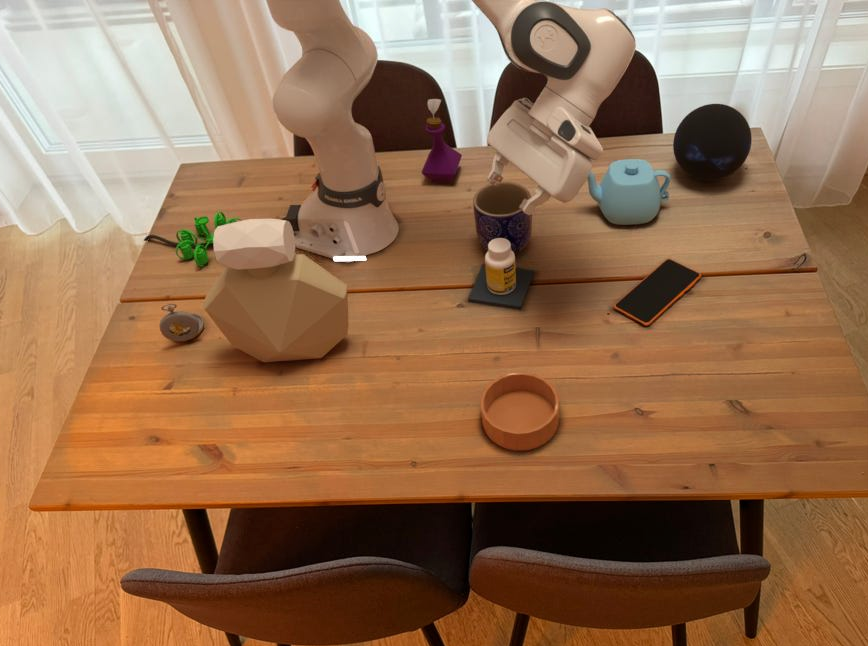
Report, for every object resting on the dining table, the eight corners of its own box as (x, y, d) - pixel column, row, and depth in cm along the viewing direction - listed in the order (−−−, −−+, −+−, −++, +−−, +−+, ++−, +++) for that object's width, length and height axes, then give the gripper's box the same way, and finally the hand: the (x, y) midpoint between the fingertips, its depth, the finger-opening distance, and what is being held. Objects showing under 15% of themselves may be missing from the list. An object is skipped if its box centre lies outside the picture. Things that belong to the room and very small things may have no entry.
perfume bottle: (456, 187, 161) (447, 111, 148) (423, 185, 163) (411, 110, 149) (463, 167, 166) (455, 92, 153) (431, 165, 168) (420, 91, 154)
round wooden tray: (473, 442, 116) (471, 425, 113) (494, 384, 123) (492, 366, 120) (549, 457, 113) (549, 440, 110) (565, 397, 120) (566, 379, 117)
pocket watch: (204, 313, 142) (184, 273, 134) (206, 339, 137) (186, 300, 129) (168, 322, 141) (147, 283, 133) (170, 350, 136) (147, 310, 128)
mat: (468, 301, 137) (467, 298, 137) (483, 266, 143) (483, 263, 143) (521, 309, 135) (520, 306, 134) (534, 273, 141) (534, 270, 140)
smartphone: (612, 308, 132) (612, 305, 132) (667, 260, 139) (667, 257, 139) (647, 328, 128) (647, 324, 128) (702, 277, 135) (703, 274, 135)
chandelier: (194, 281, 148) (181, 254, 143) (167, 245, 157) (154, 218, 152) (262, 248, 153) (251, 221, 148) (232, 214, 162) (221, 188, 157)
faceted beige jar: (235, 330, 138) (178, 206, 117) (363, 319, 137) (329, 192, 116) (222, 379, 130) (158, 256, 109) (358, 369, 128) (321, 242, 108)
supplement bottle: (507, 299, 135) (504, 258, 128) (481, 290, 138) (477, 249, 130) (521, 281, 138) (519, 239, 131) (496, 272, 141) (493, 231, 133)
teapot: (576, 149, 148) (669, 143, 146) (575, 193, 156) (663, 189, 154) (581, 186, 140) (679, 181, 138) (579, 231, 148) (672, 227, 146)
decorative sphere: (669, 153, 162) (677, 89, 151) (741, 154, 160) (755, 89, 149) (669, 195, 153) (678, 129, 142) (746, 197, 150) (761, 130, 139)
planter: (532, 262, 143) (531, 215, 134) (475, 263, 144) (470, 217, 136) (533, 226, 150) (531, 179, 142) (478, 228, 151) (474, 181, 143)
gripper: (507, 85, 117) (460, 161, 122) (586, 140, 105) (531, 223, 110) (532, 101, 122) (485, 174, 127) (610, 156, 110) (556, 235, 114)
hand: (507, 197), depth 118 cm, fingers open, 8 cm apart
